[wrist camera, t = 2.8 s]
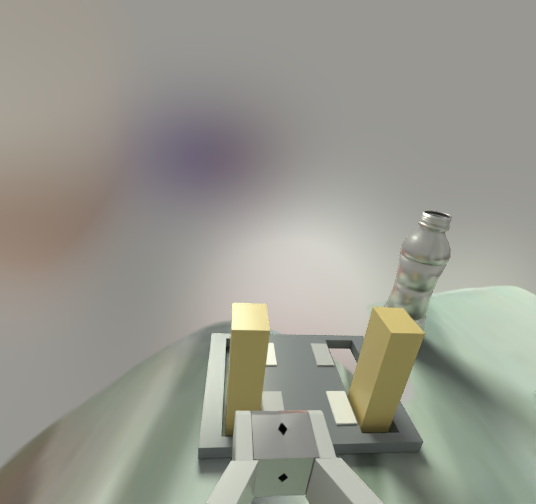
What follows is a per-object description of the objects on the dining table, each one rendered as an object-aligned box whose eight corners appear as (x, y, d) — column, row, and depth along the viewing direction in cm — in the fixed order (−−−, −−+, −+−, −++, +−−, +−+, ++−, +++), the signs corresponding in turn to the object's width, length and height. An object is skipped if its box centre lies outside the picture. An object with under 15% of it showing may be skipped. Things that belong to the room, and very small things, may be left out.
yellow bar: (226, 401, 34) (232, 302, 29) (255, 401, 34) (266, 303, 29) (225, 435, 30) (231, 329, 25) (257, 435, 30) (270, 330, 25)
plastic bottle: (373, 338, 47) (410, 214, 39) (379, 316, 52) (412, 204, 45) (418, 354, 44) (467, 225, 36) (419, 329, 50) (461, 213, 42)
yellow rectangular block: (346, 400, 35) (372, 307, 30) (372, 400, 36) (402, 307, 31) (359, 432, 32) (391, 333, 27) (388, 431, 32) (425, 333, 27)
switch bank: (211, 341, 43) (211, 332, 42) (360, 344, 45) (363, 334, 45) (198, 458, 28) (198, 446, 27) (418, 451, 31) (423, 440, 30)
